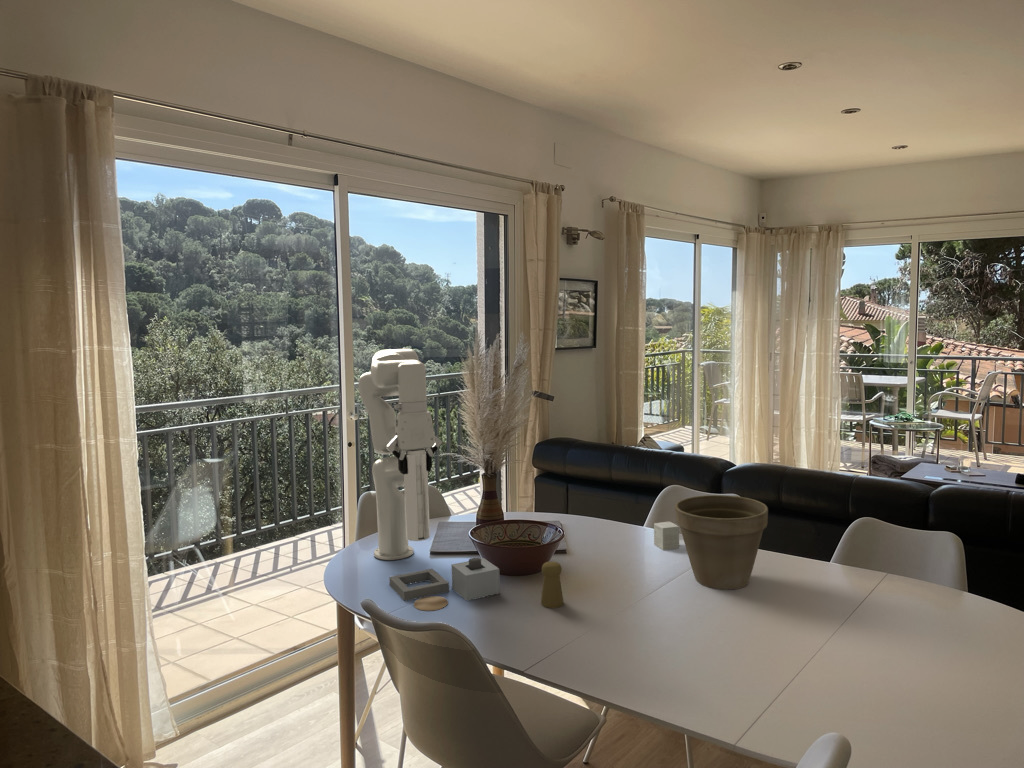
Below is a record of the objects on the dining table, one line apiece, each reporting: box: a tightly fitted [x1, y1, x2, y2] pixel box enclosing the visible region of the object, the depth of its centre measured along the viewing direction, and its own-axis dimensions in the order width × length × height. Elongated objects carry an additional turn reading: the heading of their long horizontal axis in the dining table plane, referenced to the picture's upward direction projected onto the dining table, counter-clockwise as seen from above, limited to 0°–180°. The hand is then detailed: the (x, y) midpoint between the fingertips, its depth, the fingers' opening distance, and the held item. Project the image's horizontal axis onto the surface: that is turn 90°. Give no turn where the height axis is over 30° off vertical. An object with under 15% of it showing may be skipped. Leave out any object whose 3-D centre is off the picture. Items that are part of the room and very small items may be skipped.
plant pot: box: [674, 494, 769, 590], centre depth 204 cm, size 25×25×22 cm
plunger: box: [468, 557, 482, 570], centre depth 201 cm, size 3×3×4 cm
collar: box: [388, 568, 450, 602], centre depth 205 cm, size 13×13×2 cm
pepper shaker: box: [540, 560, 565, 609], centre depth 192 cm, size 6×6×11 cm
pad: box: [413, 595, 449, 612], centre depth 194 cm, size 9×9×1 cm
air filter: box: [403, 449, 431, 542], centre depth 201 cm, size 6×6×25 cm
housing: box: [451, 557, 501, 601], centre depth 202 cm, size 10×10×7 cm
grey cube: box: [653, 521, 680, 551], centre depth 235 cm, size 6×6×7 cm
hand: (415, 471), depth 201 cm, fingers closed on air filter, 6 cm apart
